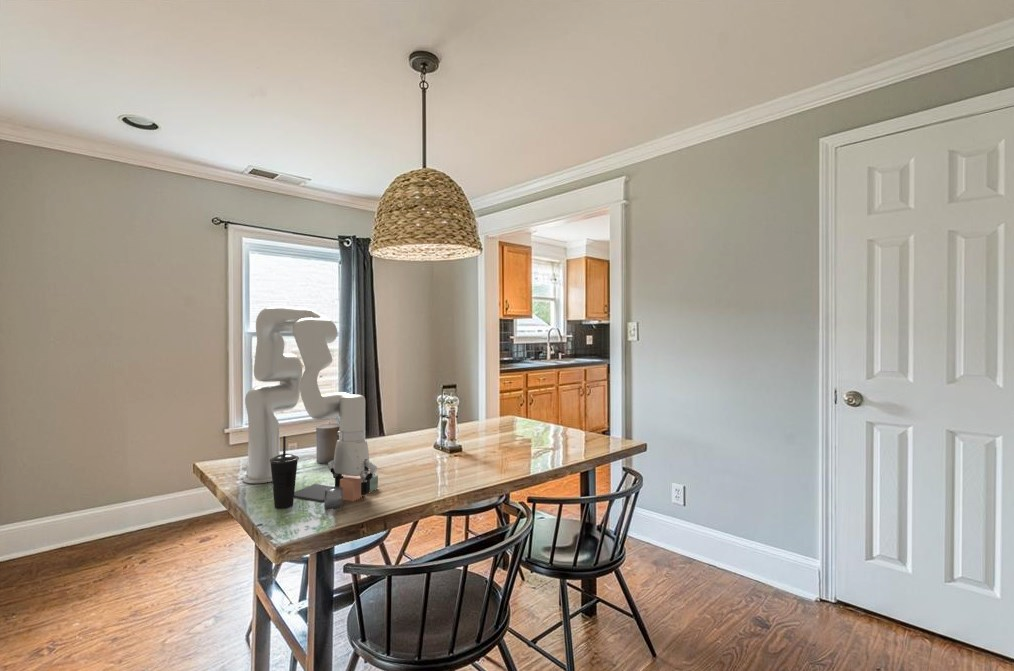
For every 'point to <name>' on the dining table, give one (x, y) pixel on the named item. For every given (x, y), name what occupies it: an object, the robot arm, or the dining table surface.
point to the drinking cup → (284, 478)
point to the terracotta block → (351, 487)
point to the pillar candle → (326, 442)
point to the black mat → (312, 492)
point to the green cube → (373, 483)
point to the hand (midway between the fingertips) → (352, 492)
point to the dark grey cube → (333, 497)
